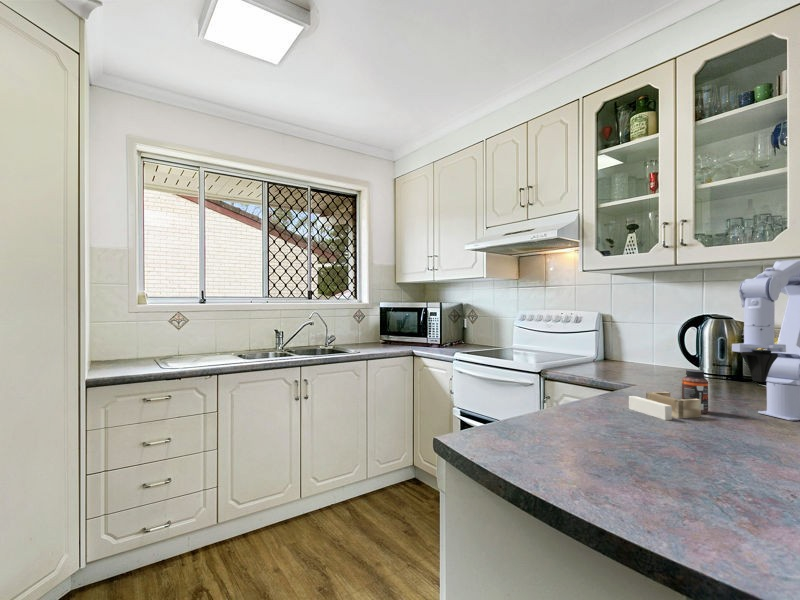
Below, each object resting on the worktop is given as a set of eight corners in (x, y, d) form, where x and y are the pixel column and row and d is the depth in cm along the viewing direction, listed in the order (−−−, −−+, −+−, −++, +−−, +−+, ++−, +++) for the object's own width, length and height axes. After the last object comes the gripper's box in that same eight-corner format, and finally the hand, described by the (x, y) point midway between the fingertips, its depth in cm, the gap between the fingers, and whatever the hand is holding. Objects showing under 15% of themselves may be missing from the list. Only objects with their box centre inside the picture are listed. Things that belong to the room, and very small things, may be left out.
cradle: (666, 407, 117) (666, 391, 117) (700, 417, 107) (700, 399, 107) (646, 408, 115) (646, 392, 116) (678, 418, 105) (678, 400, 105)
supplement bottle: (708, 415, 109) (708, 372, 109) (681, 411, 112) (681, 370, 112) (708, 411, 113) (708, 370, 114) (682, 407, 117) (682, 368, 117)
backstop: (634, 408, 116) (634, 395, 116) (671, 419, 104) (671, 405, 104) (628, 408, 115) (628, 396, 115) (665, 420, 103) (665, 406, 104)
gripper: (753, 326, 96) (753, 384, 96) (800, 327, 99) (800, 383, 99) (723, 325, 103) (723, 379, 103) (768, 326, 106) (768, 378, 106)
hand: (759, 381), depth 101 cm, fingers closed
